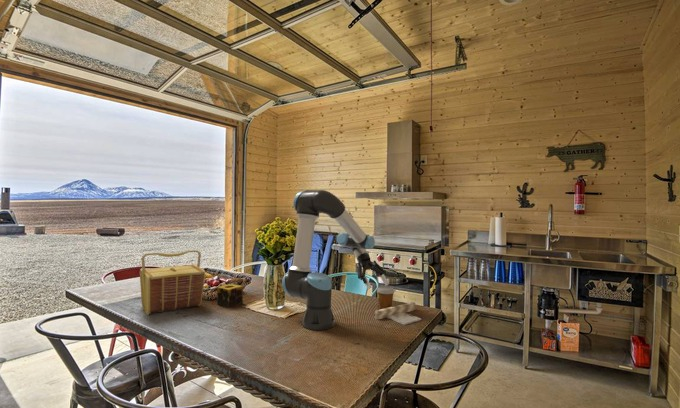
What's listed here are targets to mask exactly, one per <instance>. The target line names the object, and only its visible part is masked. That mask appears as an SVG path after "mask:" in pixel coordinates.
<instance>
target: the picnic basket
mask: <svg viewBox="0 0 680 408" xmlns="http://www.w3.org/2000/svg"><path fill="white" fill-rule="evenodd" d="M188 253H189V254H190V253H197V255H198V256H197V265H196V264H193V263H192V264H188V265H187V264H186V265H176V266H166V267H164V266H163V267H155V268H153V267H152V268H146V264H145V263H146V261H145V258H146V257H147V256H161V257H166V258H171V257H172V258H173V257H179V256H183V255H186V254H188ZM201 256H202V253H201V251H199V250H197V249H195V250H194V249H192V250H186V251H181V252H177V253H165V252H164V253H163V252H150V253H145V254H144V255H142V257H141V268H140V269H139V284H140V295H141V296H140V298H141V299H140V300H141V305H142V308H143V310H144V312H145V313H146V315H151V314H156V313H162V312H168V311H174V310H178V309H179V310H180V309H186V308H190V307H191V308H192V307H200V306H202V301H203V293H204V286H205V279H206V270H205V269H204V268H201V266H200V265H201Z"/></svg>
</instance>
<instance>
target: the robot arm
mask: <svg viewBox="0 0 680 408" xmlns="http://www.w3.org/2000/svg"><path fill="white" fill-rule="evenodd" d="M292 205H293V207H294V210H295V212H296V216H297V217H298V221H297V228H296V229H297V231H296V234H295V235H296V236H295V244H294V249H293V250H294V251H293V252H294V253H293V258H292V265H291V266H290V267H289V268H288V271H287V272H286V273H284V275H283V277H282V281H281V286H282V289H283V292H284V294H287V295H289V296H291V297H292V298H293V297H294V298H297V299H302V300H306V308H305V312H304V315H303V317H302V327H303V328H305V329H308V330H313V331H324V330H329V329H331V328H333V327H334V326H335V317H334V312H333V311H332V310H333V309H332V288H333V285H332V278H331V277H330V276H329V275H327V274H326V273H322V272H313V271H312V269H311V268H310V265H311V264H310V263H311V257H312V256H311V255H312V248H313V241H314V235H315V226H316V221H317V220H318V219H319V217H320V214H324V215H327V216H329V218H330V219H333V220H335V221H336V223H337V224H338V225H339V226H340V227H341V228H342V229H343V230H344V231H345V232H340V233H339V234H338V235H337V237H336V243H337V244H338V246H341V247H346V248H348V249H351V251H352V252H353V255H354V256H355V259H356V261H357V264H356V268H357V279H358V280H361V281H363V284H365V286H366V288H367V290H370V289H371V288H372V285H371V283H370V281H369V279H368V277H367V276H366V272H367V271H369V270H371V271H374V272H375V273H376V274H378V275H379V276H380V279H381V280H382V282H383V284H384V286H389V284H390V282H389V280H388V278H387V276H386V274H387V271H386V270H385V268H383V267H381V265H379V263H377V261H376V260H373V261H372V260H371V256H370V255H369V253H368V251H367V250H372V249H373V248H374V247H375V243H376V240H375V237H374V236H372V235H368V234H367V233H366V232H365V231H364V230H363V229H362V228H361V226H360V225H359V224H358V222H357V221H356V220H355V219H354V218H353V217H352V215H351V214H350V213H349V212H348V211H347V209H346V205H345V203H343V202H342V200H341V199H340V198H339V197H337V196H336V195H335V194H334V193H332V192H330V191H329V190H325V189H315V190H314V189H310V190H309V189H307V190H301V191H299V192H297V193H296V195H295V196H294V198H293V202H292Z"/></svg>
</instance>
